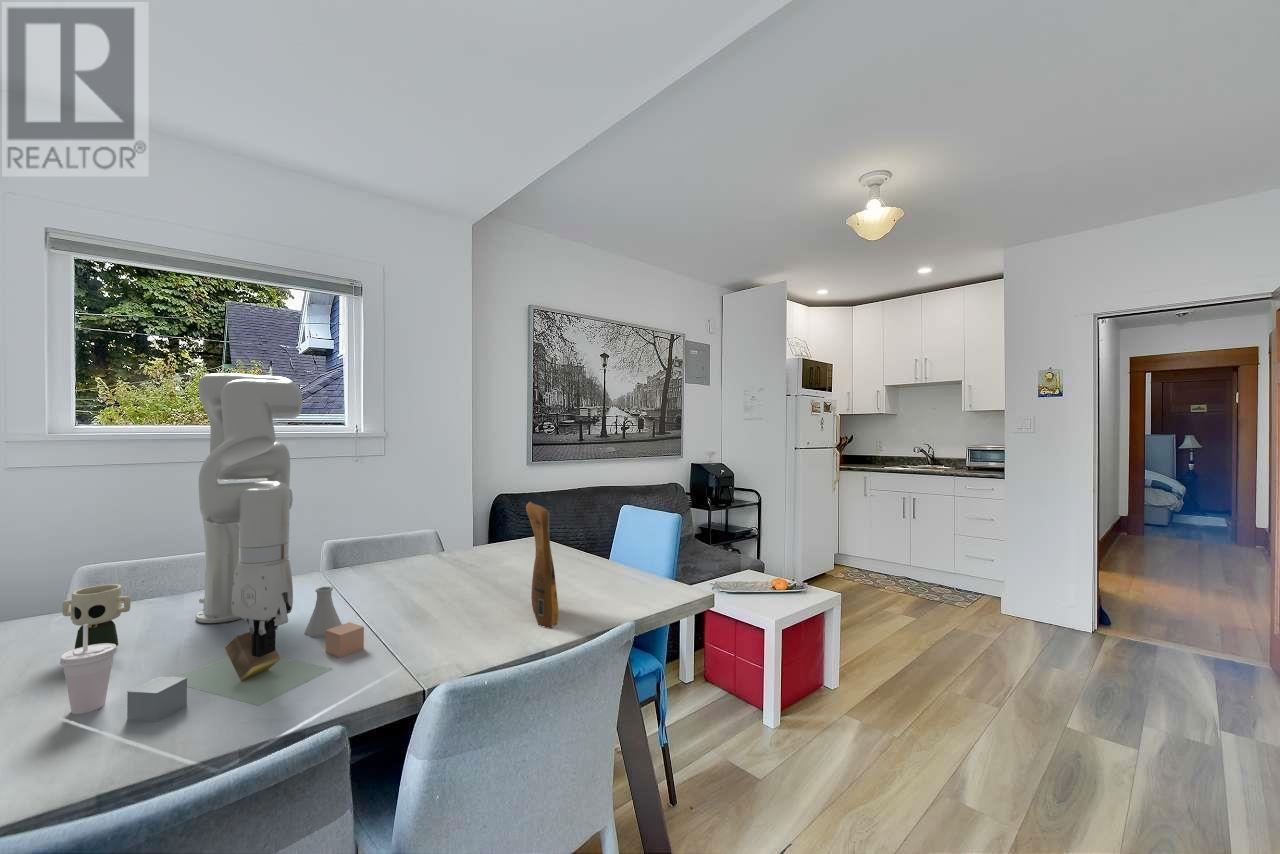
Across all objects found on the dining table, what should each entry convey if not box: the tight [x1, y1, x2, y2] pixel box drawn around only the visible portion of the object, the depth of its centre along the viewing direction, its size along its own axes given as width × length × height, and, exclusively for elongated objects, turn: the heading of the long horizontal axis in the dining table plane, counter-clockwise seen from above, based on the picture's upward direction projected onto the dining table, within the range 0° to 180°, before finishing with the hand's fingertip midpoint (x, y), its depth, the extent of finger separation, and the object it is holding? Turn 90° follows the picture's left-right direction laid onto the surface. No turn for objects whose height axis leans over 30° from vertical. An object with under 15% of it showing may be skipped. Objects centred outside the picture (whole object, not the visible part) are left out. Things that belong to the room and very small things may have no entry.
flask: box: [303, 586, 343, 638], centre depth 118 cm, size 7×7×10 cm
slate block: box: [126, 675, 188, 723], centre depth 84 cm, size 5×5×5 cm
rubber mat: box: [175, 655, 333, 707], centre depth 97 cm, size 24×14×1 cm, turn 71°
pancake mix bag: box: [525, 501, 559, 629], centre depth 129 cm, size 7×19×28 cm, turn 19°
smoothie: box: [59, 624, 117, 715], centre depth 86 cm, size 6×6×14 cm
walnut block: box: [224, 631, 281, 681], centre depth 97 cm, size 4×5×7 cm
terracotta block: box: [325, 621, 365, 658], centre depth 108 cm, size 5×5×5 cm
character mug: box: [61, 583, 131, 649], centre depth 106 cm, size 11×7×13 cm, turn 106°
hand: (263, 653), depth 96 cm, fingers closed
